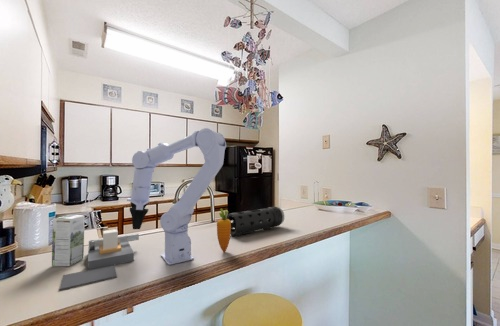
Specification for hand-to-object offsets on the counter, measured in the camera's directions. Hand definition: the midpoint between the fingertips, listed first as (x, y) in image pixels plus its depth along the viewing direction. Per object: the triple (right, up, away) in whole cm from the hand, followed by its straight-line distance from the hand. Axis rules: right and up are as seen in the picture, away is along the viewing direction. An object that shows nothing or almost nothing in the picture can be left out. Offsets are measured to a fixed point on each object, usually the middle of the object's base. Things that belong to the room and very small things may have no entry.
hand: (136, 225), depth 81 cm
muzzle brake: (+43, -10, +27) cm, 51 cm away
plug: (-7, -10, -3) cm, 12 cm away
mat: (-4, -9, -18) cm, 20 cm away
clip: (-8, -7, 0) cm, 10 cm away
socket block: (-7, -10, -3) cm, 12 cm away
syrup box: (-17, -10, -8) cm, 22 cm away
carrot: (+30, -10, 0) cm, 32 cm away
